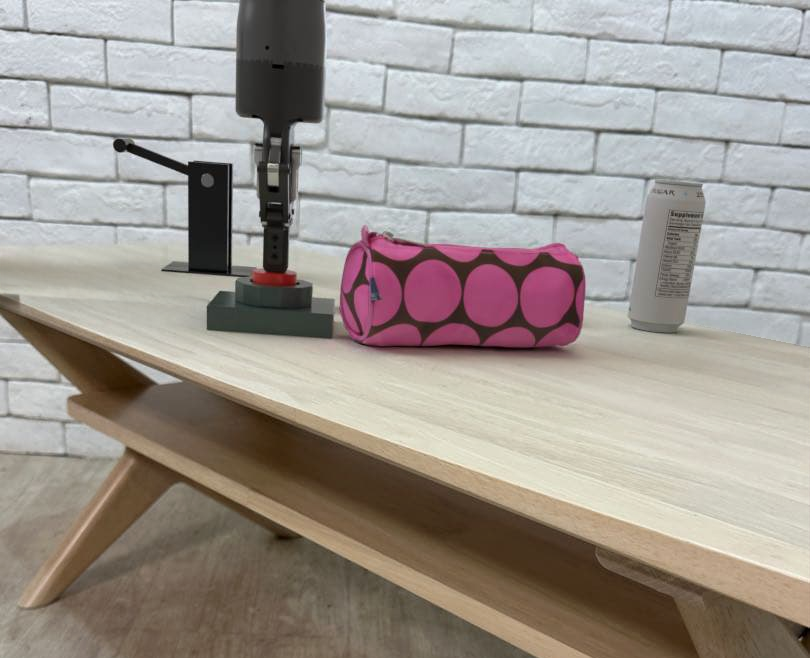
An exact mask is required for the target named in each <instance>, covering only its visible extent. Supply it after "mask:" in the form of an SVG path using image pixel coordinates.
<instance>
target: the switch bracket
mask: <svg viewBox="0 0 810 658" xmlns="http://www.w3.org/2000/svg"><path fill="white" fill-rule="evenodd" d="M187 165H188V176H187V225H188V226H187V246H188V247H187V249H188V253H187V254H188V255H187V257H188V258H187V259H188V261H177V260H176V261H175V260H173V261H172V262H169V263H168V264H167V265H166V266H164V267H163V268H161V272H163V273H164V272H165V273H166V272H167V273H179V274H193V275H195V274H196V275H207V276H221V277H234V278H235V277H236V278H241V277H249V276H252V275H253V270H254V269H258V267H257V266H245V265H233V218H234V217H233V214H234V213H233V210H234V205H233V203H234V163H231V162H220V161H219V162H218V161H206V160H193V161H192V160H191V161H189V160H188V161H187Z"/></svg>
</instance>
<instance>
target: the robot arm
mask: <svg viewBox="0 0 810 658" xmlns="http://www.w3.org/2000/svg"><path fill="white" fill-rule="evenodd" d="M326 2H327V0H239V3H238V10H237V18H236V29H235V32H236V33H235V35H236V36H235V38H236V39H235V52H236V53H235V113H236V114H237V116H239V117H240V118H243V119H244V118H245V119H253V120H255V119H256V120H260V121H261V122H262V123H263V132H262V142H254V147H253V162H254V164H255V166H256V197H257V199H258V200H259V211H258V217H259V218H260V219H259V221H260V224H261V227H262V228H263V235H262V237H263V238H262V239H263V242H262V268H263V269H264V270H265V271H267V272H278V273H284V272H286V270H289V269H288V268H289V261H290V260H289V259H290V230H291V228H292V225H294V218H293V216H294V215H295V208H294V202H295V201H296V200H297V199H298V198H299V181H300V180H299V179H300V168H301V167H302V165H303V150H304V148H303V145H295V127H296V126H297V124H299V123H301V124H302V123H303V124H315V125H316V124H321V123H322V122H323V121H324V118H325V101H326V100H325V99H326V79H327V78H326V76H327V74H326V73H327V56H328V55H327V53H328V24H327V23H328V22H327V10H326V9H327V8H326V7H327V3H326Z"/></svg>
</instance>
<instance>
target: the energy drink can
mask: <svg viewBox="0 0 810 658" xmlns="http://www.w3.org/2000/svg"><path fill="white" fill-rule="evenodd" d="M703 186H704V184H703V183H701V182H690V181H682V180H681V181H680V180H679V181H678V180H668V179H667V180H666V179H654V185H653V187H652V188H651V190H650V191H649V192H648V193H647V195H646V197H645V204H644V211H643V216H642V222H641V229H640V235H639V242H638V248H637V254H636V260H635V266H634V273H633V280H632V285H631V292H630V297H629V305H628V311H627V318H628V319H629V320H630V322H631V324H630V325H631V327H632V328H634V329H637V330H641V331H646V332H652V333H665V334H670V333H677V332H678V330H679V328H680V326H682V325H683V324H685V320H686V314H687V309H688V305H689V298H690V293H691V287H692V282H693V276H694V270H695V265H696V259H697V253H698V249H699V243H700V242H699V241H700V237H701V232H702V227H703V226H702V225H703V220H704V214H705V209H706V204H707V200H706V198H705V194H704V192H703Z"/></svg>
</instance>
